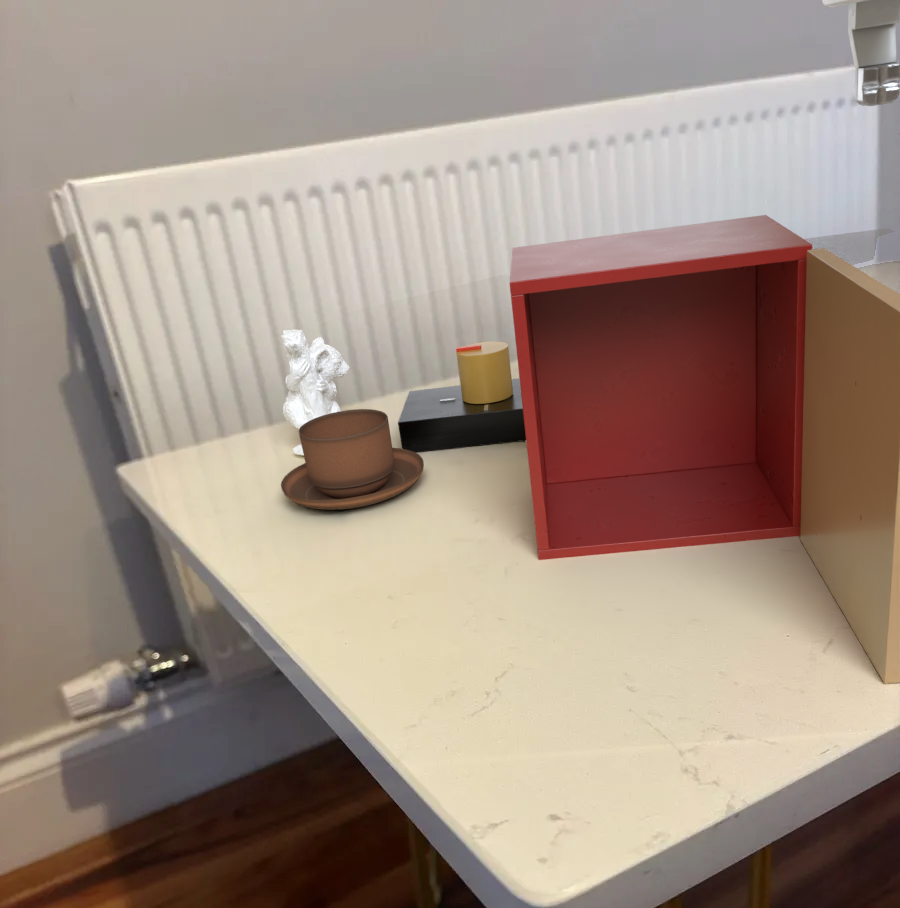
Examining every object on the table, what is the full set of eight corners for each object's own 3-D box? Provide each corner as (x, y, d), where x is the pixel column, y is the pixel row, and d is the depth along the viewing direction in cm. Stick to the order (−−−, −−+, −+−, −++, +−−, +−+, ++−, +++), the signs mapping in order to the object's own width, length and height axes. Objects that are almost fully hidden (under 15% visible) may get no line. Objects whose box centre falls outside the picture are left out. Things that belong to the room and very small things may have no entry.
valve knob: (513, 385, 98) (508, 335, 96) (512, 400, 94) (507, 348, 91) (463, 391, 98) (457, 341, 96) (460, 406, 94) (453, 354, 92)
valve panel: (538, 406, 101) (535, 374, 100) (539, 439, 92) (536, 405, 91) (413, 420, 103) (408, 389, 101) (402, 453, 94) (397, 420, 92)
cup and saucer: (257, 506, 87) (240, 436, 84) (363, 459, 94) (351, 394, 91) (347, 533, 79) (332, 457, 76) (456, 480, 86) (446, 409, 83)
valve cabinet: (805, 536, 68) (812, 244, 59) (538, 561, 70) (509, 282, 61) (764, 467, 79) (766, 214, 71) (537, 490, 81) (512, 247, 73)
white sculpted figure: (340, 467, 93) (315, 334, 88) (273, 469, 95) (244, 340, 89) (371, 435, 100) (349, 311, 95) (307, 438, 102) (283, 317, 97)
